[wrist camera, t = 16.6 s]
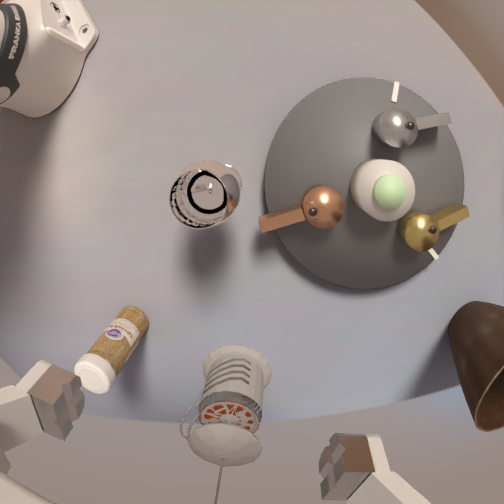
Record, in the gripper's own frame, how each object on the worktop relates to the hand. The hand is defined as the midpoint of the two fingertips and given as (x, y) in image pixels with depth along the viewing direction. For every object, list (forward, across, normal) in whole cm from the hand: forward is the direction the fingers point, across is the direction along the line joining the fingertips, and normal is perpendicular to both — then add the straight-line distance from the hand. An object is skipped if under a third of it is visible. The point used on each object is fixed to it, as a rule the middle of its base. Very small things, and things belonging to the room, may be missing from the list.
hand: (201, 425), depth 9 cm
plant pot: (+29, -34, +8) cm, 46 cm away
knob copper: (+27, -4, -3) cm, 27 cm away
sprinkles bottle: (+29, +13, +17) cm, 36 cm away
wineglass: (+29, +4, -3) cm, 30 cm away
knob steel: (+27, -14, -15) cm, 34 cm away
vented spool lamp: (+29, -1, +22) cm, 37 cm away
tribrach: (+29, -12, -7) cm, 32 cm away
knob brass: (+27, -20, -5) cm, 34 cm away
